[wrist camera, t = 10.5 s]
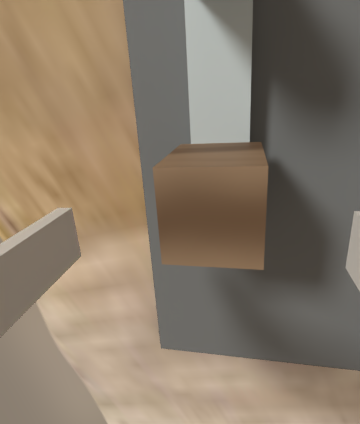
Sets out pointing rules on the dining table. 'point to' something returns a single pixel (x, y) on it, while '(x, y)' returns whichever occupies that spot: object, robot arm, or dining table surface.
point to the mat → (277, 183)
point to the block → (212, 205)
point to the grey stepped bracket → (219, 69)
